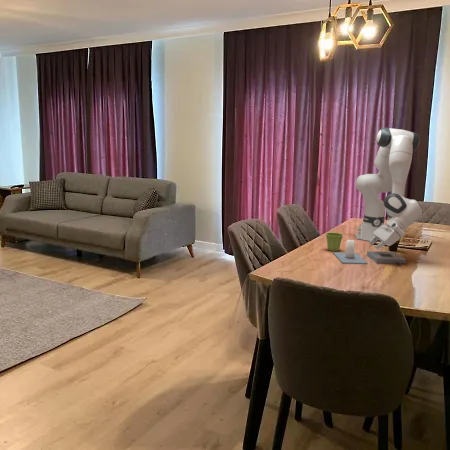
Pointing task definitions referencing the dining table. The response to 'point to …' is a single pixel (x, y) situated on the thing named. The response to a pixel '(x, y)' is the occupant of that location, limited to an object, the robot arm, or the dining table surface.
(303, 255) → the dining table surface
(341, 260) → the rubber mat
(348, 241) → the white rounded cylinder
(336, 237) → the plant pot
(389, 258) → the grey square frame
